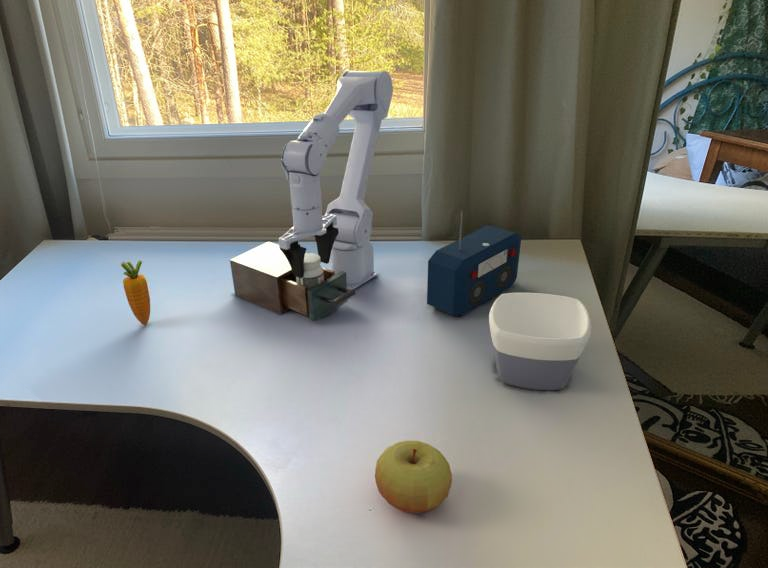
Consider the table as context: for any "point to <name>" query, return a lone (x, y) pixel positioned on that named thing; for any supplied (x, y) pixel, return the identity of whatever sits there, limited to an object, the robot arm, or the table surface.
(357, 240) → the robot arm
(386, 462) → the apple
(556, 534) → the table surface
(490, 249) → the radio
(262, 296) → the cabinet
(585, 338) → the bowl
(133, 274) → the carrot
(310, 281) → the pill bottle
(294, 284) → the drawer
